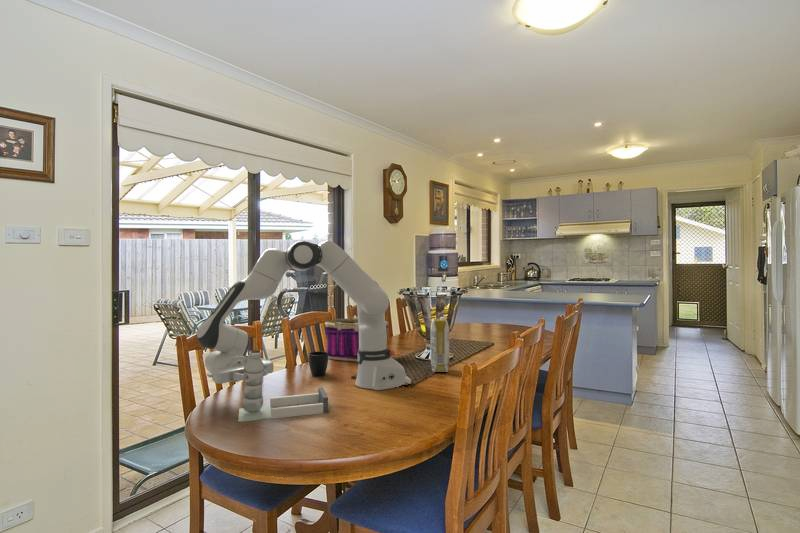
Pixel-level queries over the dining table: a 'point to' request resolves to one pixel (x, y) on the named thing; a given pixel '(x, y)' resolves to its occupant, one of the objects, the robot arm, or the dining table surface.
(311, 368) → the mug
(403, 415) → the dining table surface
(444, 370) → the juice carton
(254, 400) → the plastic bottle
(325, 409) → the channel
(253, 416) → the pad
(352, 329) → the basket
